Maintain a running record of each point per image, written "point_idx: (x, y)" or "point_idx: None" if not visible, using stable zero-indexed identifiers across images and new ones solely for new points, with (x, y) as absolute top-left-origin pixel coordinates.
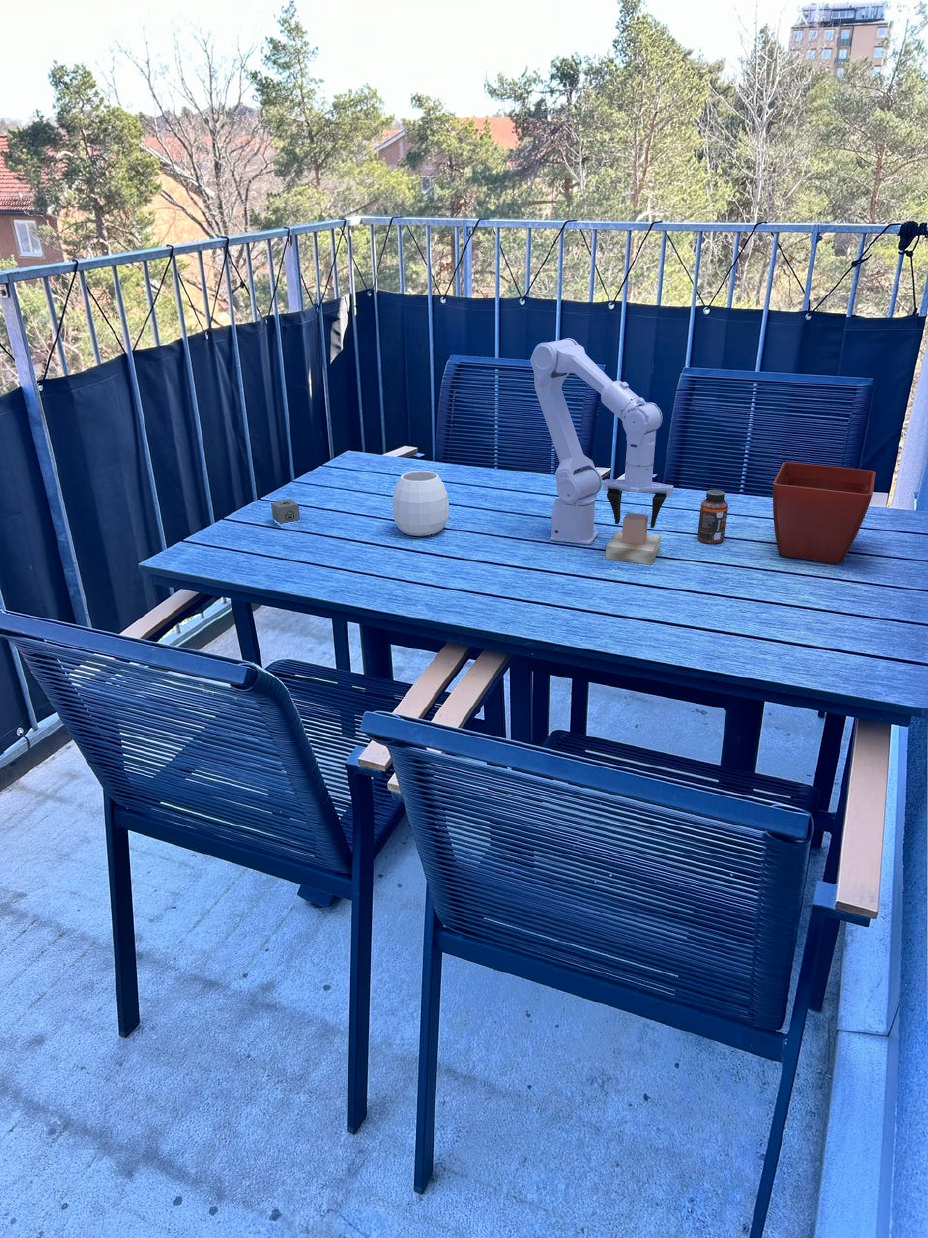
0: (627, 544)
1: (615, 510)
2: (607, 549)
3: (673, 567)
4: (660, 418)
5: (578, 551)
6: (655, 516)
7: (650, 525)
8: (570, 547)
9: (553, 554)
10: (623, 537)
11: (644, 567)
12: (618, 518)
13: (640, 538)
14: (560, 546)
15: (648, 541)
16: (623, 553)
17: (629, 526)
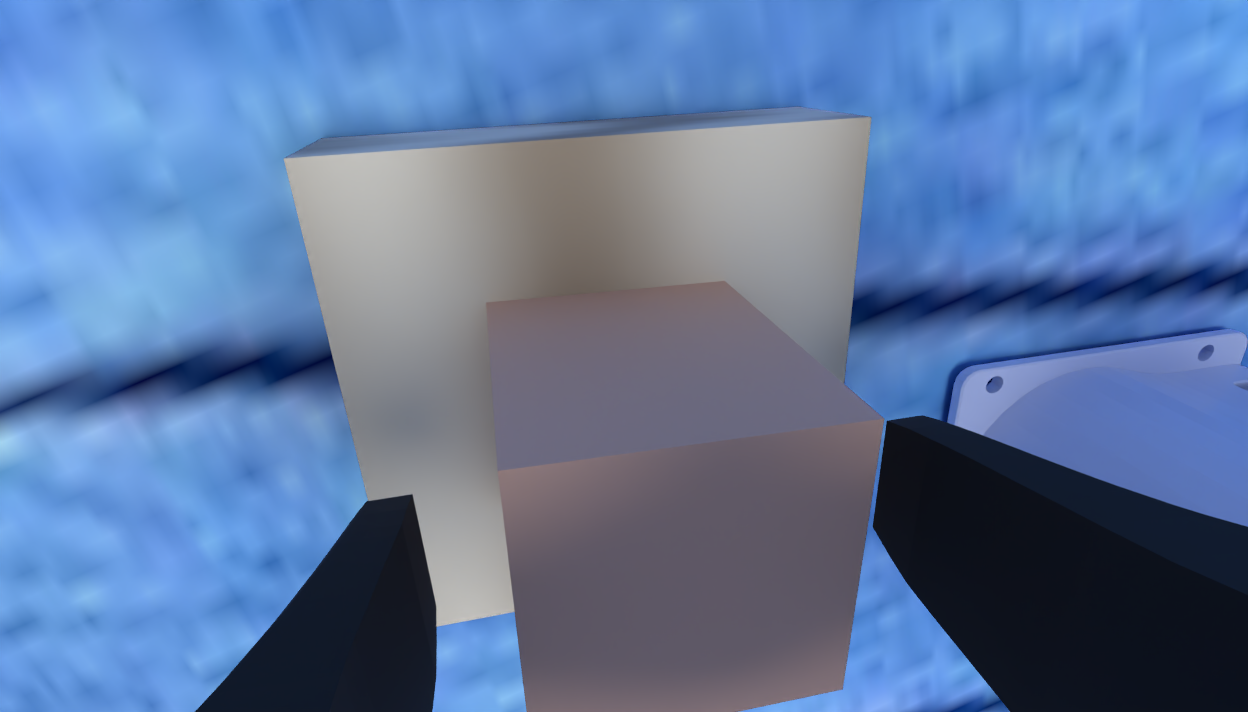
0: (654, 262)
1: (1115, 511)
2: (835, 113)
3: (58, 145)
4: None
5: (1034, 199)
6: (271, 641)
7: (407, 510)
8: (1093, 260)
9: (1233, 39)
10: (732, 305)
11: (364, 15)
12: (935, 480)
13: (519, 328)
14: (1165, 249)
15: (462, 445)
16: (651, 124)
17: (721, 378)
